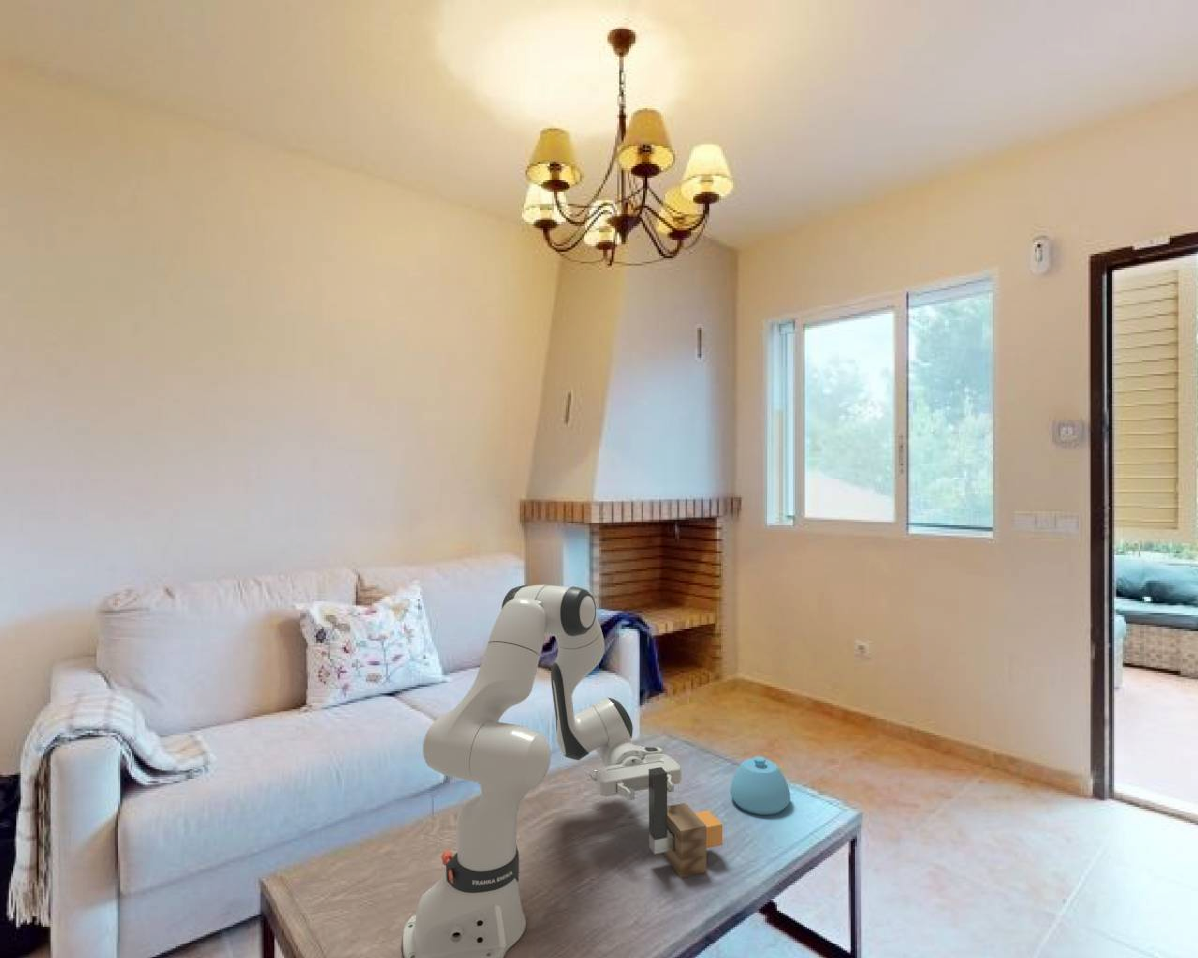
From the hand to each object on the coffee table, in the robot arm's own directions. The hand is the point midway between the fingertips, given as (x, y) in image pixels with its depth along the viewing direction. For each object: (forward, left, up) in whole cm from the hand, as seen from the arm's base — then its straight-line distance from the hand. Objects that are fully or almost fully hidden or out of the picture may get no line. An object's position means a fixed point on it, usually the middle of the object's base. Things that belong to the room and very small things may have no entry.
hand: (651, 792), depth 142 cm
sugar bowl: (+36, +13, -15) cm, 41 cm away
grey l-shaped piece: (+7, -3, -11) cm, 13 cm away
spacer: (+12, -3, -11) cm, 17 cm away
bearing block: (+6, -3, -15) cm, 16 cm away
